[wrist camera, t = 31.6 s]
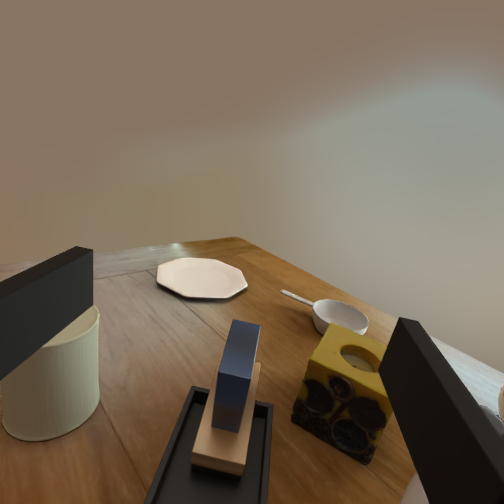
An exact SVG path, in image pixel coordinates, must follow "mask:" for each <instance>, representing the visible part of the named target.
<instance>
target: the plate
mask: <svg viewBox="0 0 504 504" xmlns="http://www.w3.org/2000/svg"><path fill="white" fill-rule="evenodd" d="M157 283H158V284H159V285H161V286H163V287H165V288H167V289H169V290H171V291H173V292H175V293H177V294H179V295H181V296H183V297H186V298H199V299H228V298H230V297H231V296H233V295H235V294H236V293H238V292H240V291H242V290H243V289H245V288H247V285H248V284H247V282H246V280H245V278H244V276H243V274H242V272H241V271H240V270H239V269H237V268H235V267H232V266H230V265H227V264H225V263H222V262H220V261H218V260H214V259H202V258H187V257H184V258H179V259H176V260H173V261H170V262H167V263H164V264H161V265H159V266H158V270H157Z"/></svg>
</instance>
